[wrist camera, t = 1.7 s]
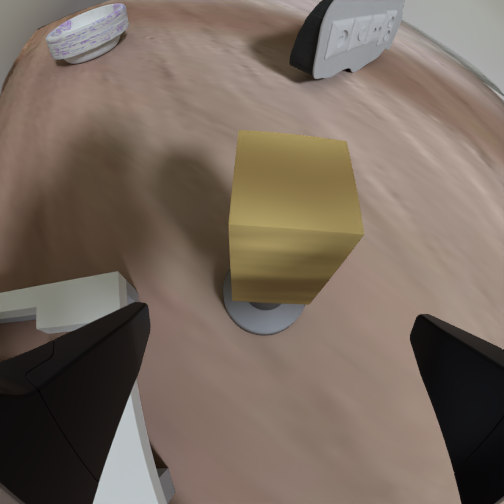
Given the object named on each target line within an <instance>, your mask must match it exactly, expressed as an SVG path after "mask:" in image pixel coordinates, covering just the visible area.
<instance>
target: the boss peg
mask: <svg viewBox="0 0 504 504" xmlns="http://www.w3.org/2000/svg"><path fill="white" fill-rule="evenodd" d="M363 235H364V230H363V223H362V217H361V211H360V205H359V199H358V194H357V188H356V183H355V178H354V173H353V169H352V164H351V159H350V155H349V150H348V146H347V142H346V141H341V140H334V139H327V138H320V137H312V136H304V135H294V134H284V133H273V132H260V131H245V130H239V133H238V141H237V150H236V159H235V167H234V176H233V186H232V195H231V205H230V214H229V247H230V267H231V268H230V270H229V271H228V273H227V275H226V277H225V281H224V285H223V296H224V303H225V307H226V310H227V313H228V315H229V316H230V318H231V319H232V320H233V322H234V323H235V324H236V325H237V326H239V327H240V328H241V329H243V330H245V331H246V332H249V333H252V334H255V335H273V334H276V333H279V332H281V331H283V330H285V329H287V328H288V327H289V326H290V325H292V323H293V322H294V321H295V320H296V319H297V318H298V317H299V315H300V314H301V312H302V310H303V308H304V306H305V304H307V305H309V304H310V303H311V302H312V300H313V299H314V298H315V297H316V295H317V294H318V293H319V292H320V291H321V289H322V288H323V287H324V286H325V284H326V283H327V282H328V281H329V279H330V278H331V277H332V276H333V274H334V273H335V272H336V271H337V269H338V268H339V267H340V266H341V264H342V263H343V262H344V260H345V259H346V258H347V257H348V255H349V254H350V253H351V251H352V250H353V249H354V247H355V246H356V245H357V243H358V242H359V241H360V239H361V238H362V237H363Z"/></svg>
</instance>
